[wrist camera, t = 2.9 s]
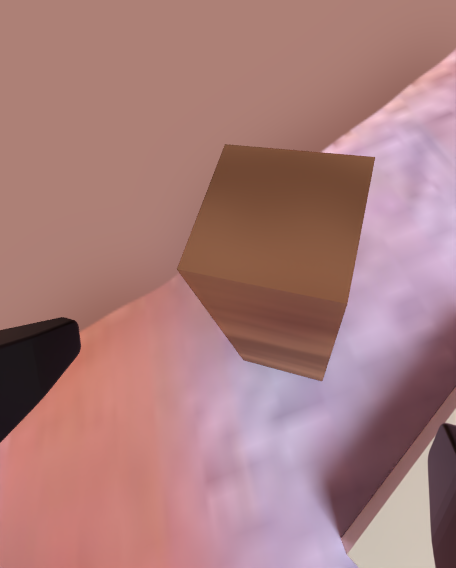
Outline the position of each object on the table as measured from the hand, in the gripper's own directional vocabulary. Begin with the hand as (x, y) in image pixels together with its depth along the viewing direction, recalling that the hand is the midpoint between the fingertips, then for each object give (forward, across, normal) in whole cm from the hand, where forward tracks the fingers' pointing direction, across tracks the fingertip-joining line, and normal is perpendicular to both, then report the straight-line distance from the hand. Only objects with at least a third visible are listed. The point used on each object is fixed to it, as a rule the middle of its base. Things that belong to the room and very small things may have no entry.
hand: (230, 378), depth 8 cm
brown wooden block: (+12, 0, +5) cm, 13 cm away
